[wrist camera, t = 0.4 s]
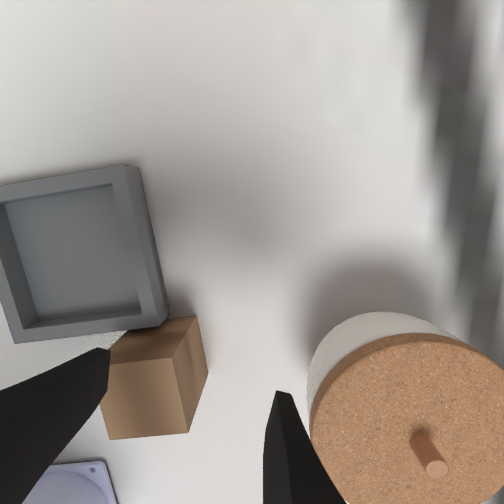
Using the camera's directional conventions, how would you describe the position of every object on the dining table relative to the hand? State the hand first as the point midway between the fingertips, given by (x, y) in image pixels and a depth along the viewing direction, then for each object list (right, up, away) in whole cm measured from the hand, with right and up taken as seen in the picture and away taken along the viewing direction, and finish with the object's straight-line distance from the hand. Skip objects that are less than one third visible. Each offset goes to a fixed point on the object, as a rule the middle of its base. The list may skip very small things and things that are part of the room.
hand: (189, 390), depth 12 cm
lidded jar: (+11, -2, +10) cm, 16 cm away
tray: (-10, +6, +10) cm, 15 cm away
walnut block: (-4, -2, +11) cm, 12 cm away
